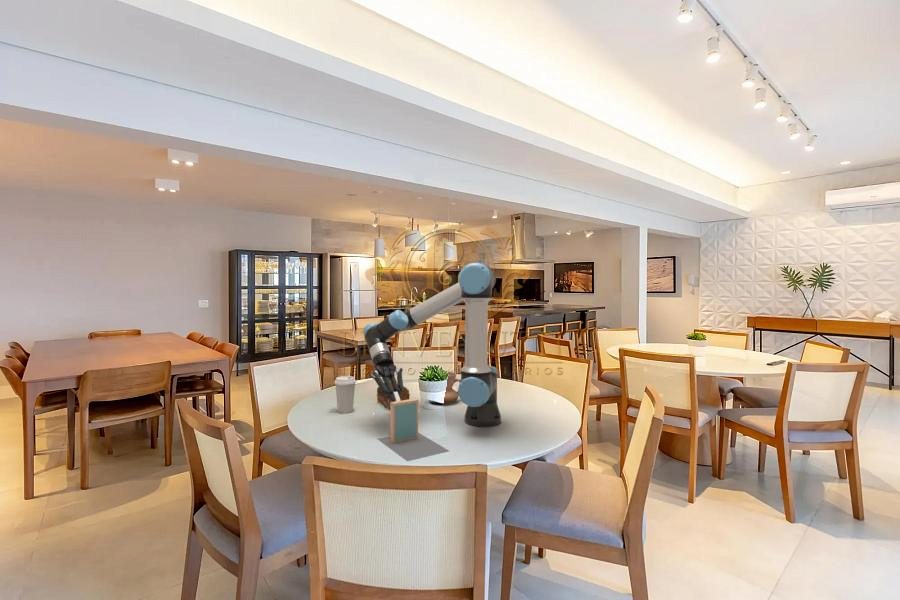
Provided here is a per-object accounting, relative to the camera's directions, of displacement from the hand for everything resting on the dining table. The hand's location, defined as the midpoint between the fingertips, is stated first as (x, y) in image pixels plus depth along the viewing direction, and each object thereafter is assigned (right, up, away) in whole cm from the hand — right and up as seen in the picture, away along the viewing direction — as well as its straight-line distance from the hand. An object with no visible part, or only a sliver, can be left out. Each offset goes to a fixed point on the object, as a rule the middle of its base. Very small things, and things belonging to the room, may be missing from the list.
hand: (399, 408), depth 157 cm
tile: (+2, -11, -2) cm, 11 cm away
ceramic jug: (+16, -10, +52) cm, 55 cm away
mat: (+5, -11, -7) cm, 14 cm away
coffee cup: (-29, -10, +35) cm, 47 cm away
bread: (-9, -10, +47) cm, 49 cm away
